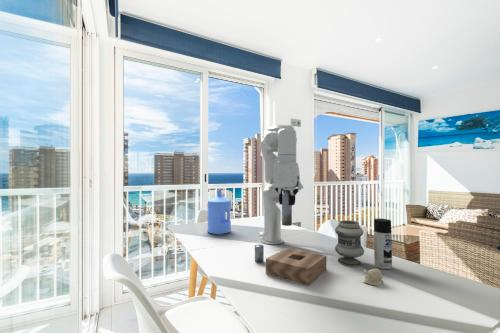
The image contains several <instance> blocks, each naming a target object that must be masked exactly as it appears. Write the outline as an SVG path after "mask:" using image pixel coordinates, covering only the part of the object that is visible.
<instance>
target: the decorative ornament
mask: <svg viewBox="0 0 500 333" xmlns="http://www.w3.org/2000/svg"><path fill="white" fill-rule="evenodd" d="M363 273H364V274H365V276H364V280H363V281H362V282H363V283H365V284H368V285H371V286H376V287H377V286H381V285H382V284H383V282H384V281H383V275H382V274H383V273H382V272H381V270H380V269H379V268H372V269H369V270H366V269H363Z"/></svg>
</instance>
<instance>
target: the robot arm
mask: <svg viewBox="0 0 500 333" xmlns="http://www.w3.org/2000/svg"><path fill="white" fill-rule="evenodd" d="M260 140H261V141H260V150H261V151H260V152H261V155H262V156H263V157H262V158H263V159H264V160H263V161H264V180H265V181H264V182H265V183H267V185H271V186H266V187H265V188H263V190H262V200H263V210H264V211H263V215H264V216H263V220H264V222H263V224H264V225H263V228H264V229H263V230H264V231H262V232H261V231H259V233H258V235H259V236H258V237H262V238H261V243H263V244H265V245H280V244H283V243H284V241H285V240H284V239H283V238H282V232H281V231H282V227H281V226H282V210H281V208H280V207H279V206H278V205H282V190H290V193H291V195H290V196H289V205H292V206H294V205H295V204H296V195H298V193H299V192H301V190H303V189H304V185H303V184H302V182H301V177H300V168H299V163H298V162H297V140H298V139H297V130H296V129H295V128H294V127H293V126H292V125H290V124H273V125H271V126H269V127H268V129H266V130H264V132H263V135H262V139H260ZM275 153H277V155H276V154H275Z"/></svg>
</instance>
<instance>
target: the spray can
mask: <svg viewBox="0 0 500 333" xmlns="http://www.w3.org/2000/svg"><path fill="white" fill-rule="evenodd" d="M392 234H393V233H392V220H391V219H388V218H374V219H373V242H374V244H373V245H374V246H373V247H374V251H373V252H374V266H375V267H376V268H377V269H379V270H380V269H381V270H392V269H393V245H392V244H393V243H392V241H393V239H392V238H393V237H392V236H393V235H392Z"/></svg>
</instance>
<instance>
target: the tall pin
mask: <svg viewBox="0 0 500 333" xmlns="http://www.w3.org/2000/svg"><path fill="white" fill-rule="evenodd" d="M290 195H291V193H290V190H282V204H281V226H285V227H286V226H287V227H289V226H293V215H292V214H293V205H289V196H290Z"/></svg>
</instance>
